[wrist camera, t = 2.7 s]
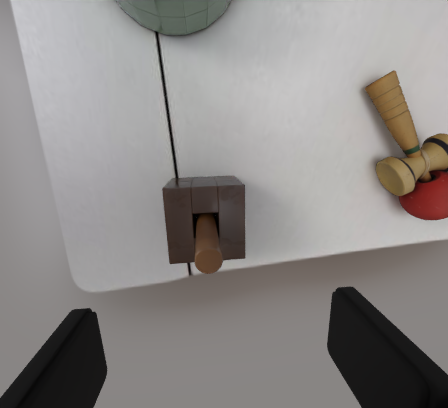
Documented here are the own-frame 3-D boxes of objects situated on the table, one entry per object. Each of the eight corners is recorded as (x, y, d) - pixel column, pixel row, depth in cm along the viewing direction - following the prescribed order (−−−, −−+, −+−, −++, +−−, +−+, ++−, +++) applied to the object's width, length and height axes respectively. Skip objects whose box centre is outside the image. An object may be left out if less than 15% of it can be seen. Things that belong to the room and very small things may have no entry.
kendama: (329, 109, 28) (393, 230, 30) (372, 83, 22) (449, 238, 24) (376, 80, 29) (435, 199, 31) (429, 47, 23) (498, 199, 25)
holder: (176, 236, 29) (169, 264, 22) (171, 178, 27) (162, 188, 20) (235, 233, 29) (245, 258, 22) (234, 175, 27) (244, 184, 21)
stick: (197, 214, 28) (195, 275, 15) (197, 200, 28) (193, 249, 14) (212, 213, 28) (223, 273, 15) (211, 199, 28) (222, 247, 14)
